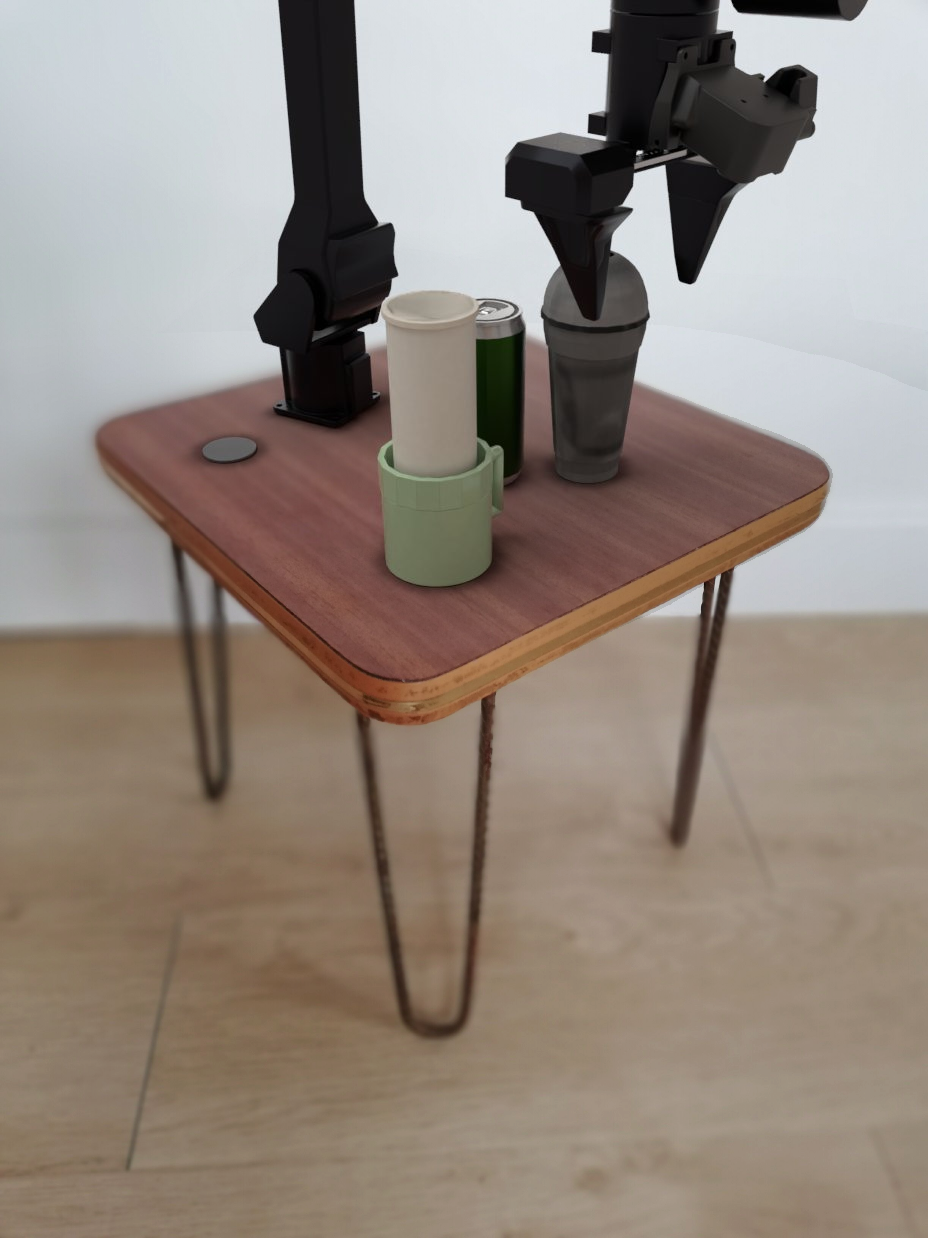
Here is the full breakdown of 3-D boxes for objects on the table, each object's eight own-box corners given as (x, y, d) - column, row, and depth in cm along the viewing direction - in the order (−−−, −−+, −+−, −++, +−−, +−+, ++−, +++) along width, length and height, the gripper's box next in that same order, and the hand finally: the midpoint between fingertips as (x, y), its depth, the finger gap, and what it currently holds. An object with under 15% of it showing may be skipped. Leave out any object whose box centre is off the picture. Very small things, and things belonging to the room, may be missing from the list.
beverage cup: (633, 496, 75) (658, 195, 64) (529, 487, 77) (535, 191, 65) (640, 450, 81) (664, 166, 70) (543, 442, 82) (551, 163, 71)
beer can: (496, 497, 75) (496, 329, 69) (434, 477, 78) (428, 313, 71) (537, 467, 79) (541, 305, 72) (477, 449, 82) (475, 290, 75)
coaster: (191, 455, 82) (191, 453, 81) (226, 435, 84) (226, 432, 84) (233, 467, 80) (232, 464, 80) (267, 446, 83) (266, 443, 83)
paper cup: (374, 492, 65) (361, 312, 59) (422, 456, 69) (414, 284, 63) (451, 513, 63) (446, 329, 57) (496, 475, 67) (496, 298, 61)
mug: (428, 600, 65) (424, 492, 61) (364, 554, 70) (356, 451, 65) (536, 550, 70) (538, 447, 65) (468, 511, 74) (467, 411, 70)
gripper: (677, 42, 47) (648, 380, 56) (894, 4, 58) (839, 294, 67) (498, 22, 54) (497, 326, 63) (720, -10, 65) (692, 256, 74)
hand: (640, 300), depth 66 cm, fingers open, 9 cm apart
